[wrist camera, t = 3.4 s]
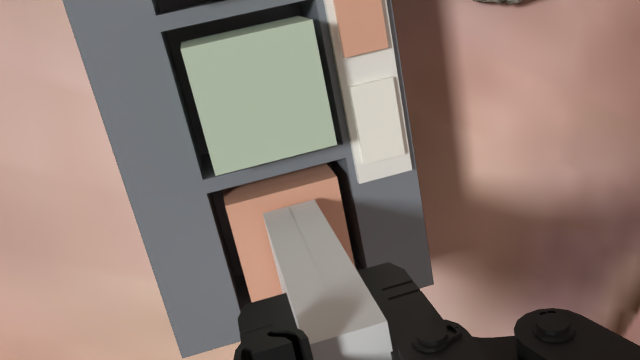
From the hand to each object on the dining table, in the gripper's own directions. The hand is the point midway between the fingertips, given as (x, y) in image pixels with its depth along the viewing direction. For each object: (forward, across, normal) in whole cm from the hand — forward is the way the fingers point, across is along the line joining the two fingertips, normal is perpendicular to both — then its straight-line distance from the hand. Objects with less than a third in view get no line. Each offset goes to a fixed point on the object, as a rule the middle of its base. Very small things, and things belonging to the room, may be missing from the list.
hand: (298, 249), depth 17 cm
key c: (+2, 0, 0) cm, 2 cm away
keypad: (+4, 0, +5) cm, 6 cm away
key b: (+1, 0, +4) cm, 5 cm away
